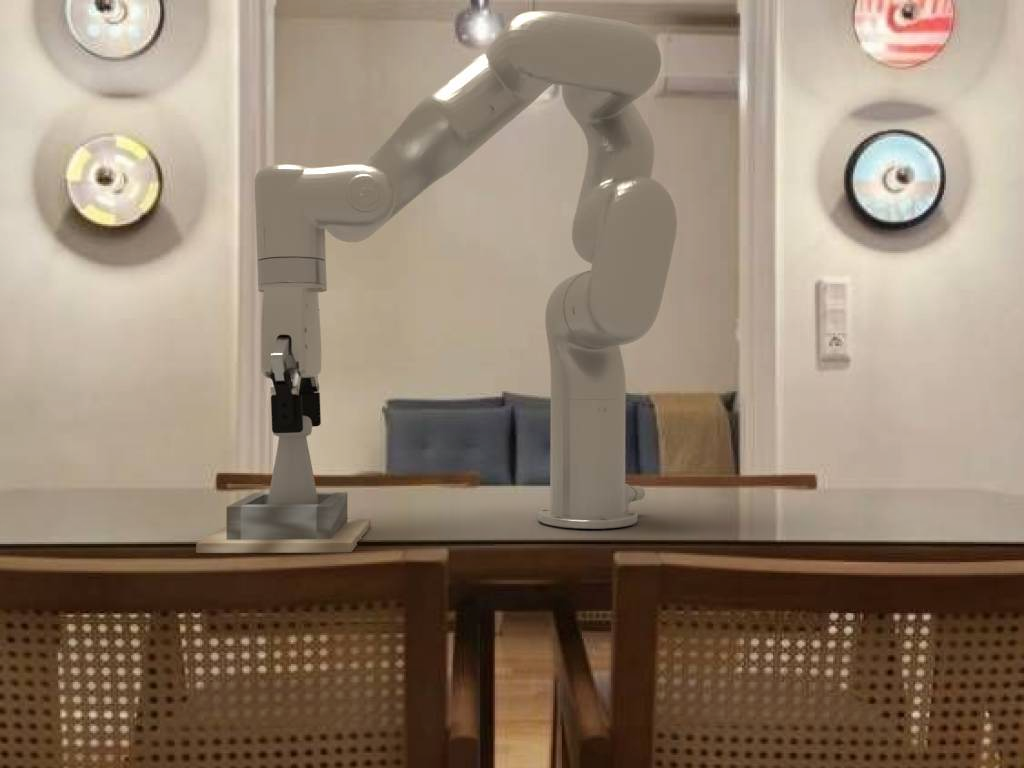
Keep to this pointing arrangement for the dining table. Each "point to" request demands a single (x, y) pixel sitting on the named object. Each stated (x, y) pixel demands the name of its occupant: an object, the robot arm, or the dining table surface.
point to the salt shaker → (293, 469)
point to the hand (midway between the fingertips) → (297, 429)
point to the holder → (287, 527)
